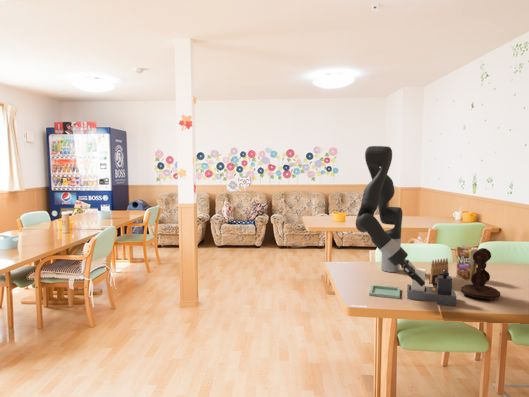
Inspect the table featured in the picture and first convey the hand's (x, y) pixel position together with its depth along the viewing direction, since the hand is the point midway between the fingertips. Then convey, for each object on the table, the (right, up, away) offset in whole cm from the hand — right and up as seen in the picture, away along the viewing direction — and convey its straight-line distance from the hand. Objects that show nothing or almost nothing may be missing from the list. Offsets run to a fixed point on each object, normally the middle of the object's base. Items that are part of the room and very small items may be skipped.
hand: (423, 283), depth 164 cm
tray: (-14, -6, +6) cm, 16 cm away
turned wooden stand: (+26, -7, +4) cm, 27 cm away
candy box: (+32, -4, +29) cm, 44 cm away
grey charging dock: (+3, -7, 0) cm, 7 cm away
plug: (-2, -4, +1) cm, 5 cm away
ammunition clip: (+16, -5, +21) cm, 26 cm away
